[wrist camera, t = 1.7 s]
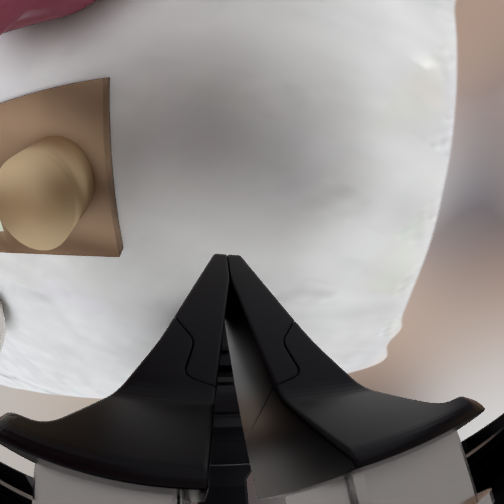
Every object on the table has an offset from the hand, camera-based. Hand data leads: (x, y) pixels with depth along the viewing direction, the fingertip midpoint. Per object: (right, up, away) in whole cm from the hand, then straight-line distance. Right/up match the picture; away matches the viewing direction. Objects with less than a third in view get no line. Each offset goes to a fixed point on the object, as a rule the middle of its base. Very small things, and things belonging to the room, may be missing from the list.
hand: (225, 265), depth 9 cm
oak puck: (-14, +6, +7) cm, 16 cm away
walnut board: (-20, +7, +7) cm, 22 cm away
